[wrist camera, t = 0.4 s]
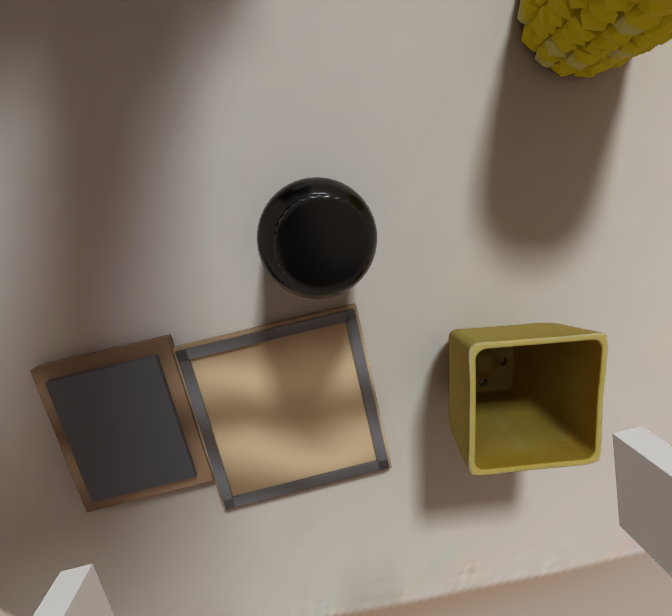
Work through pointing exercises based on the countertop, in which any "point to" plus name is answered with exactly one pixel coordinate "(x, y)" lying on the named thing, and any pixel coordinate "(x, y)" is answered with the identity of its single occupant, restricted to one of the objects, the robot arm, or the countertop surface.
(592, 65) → the food
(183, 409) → the ink tray
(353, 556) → the countertop surface
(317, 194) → the supplement bottle
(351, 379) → the board
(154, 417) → the pad
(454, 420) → the flower pot
